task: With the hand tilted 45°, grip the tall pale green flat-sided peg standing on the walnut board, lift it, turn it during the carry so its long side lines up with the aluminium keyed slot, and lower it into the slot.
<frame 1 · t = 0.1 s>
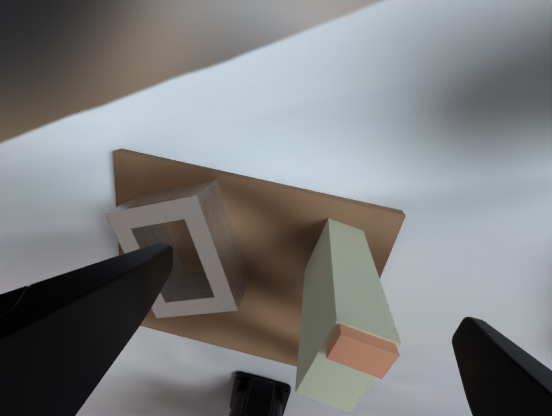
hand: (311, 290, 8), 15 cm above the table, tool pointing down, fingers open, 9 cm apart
walnut board: (242, 271, 27), on the table
keyed peg: (332, 251, 23), point 1 cm above the table, touching walnut board
keyed slot: (195, 239, 25), resting on walnut board
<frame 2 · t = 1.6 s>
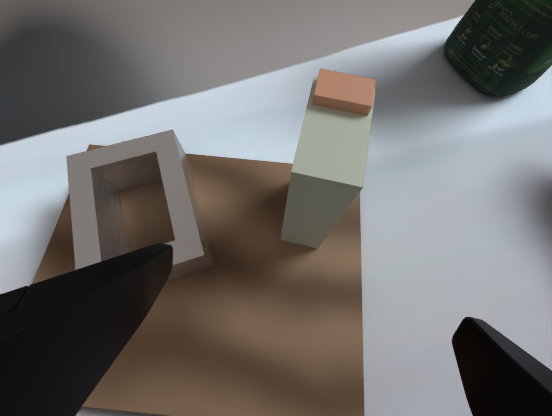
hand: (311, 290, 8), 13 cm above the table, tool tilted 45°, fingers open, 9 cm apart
walnut board: (205, 267, 22), on the table
keyed peg: (305, 213, 23), point 1 cm above the table, touching walnut board
keyed slot: (154, 221, 22), resting on walnut board
coffee jar: (482, 67, 31), on the table
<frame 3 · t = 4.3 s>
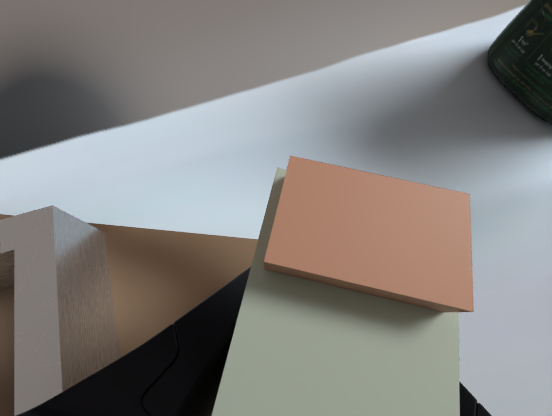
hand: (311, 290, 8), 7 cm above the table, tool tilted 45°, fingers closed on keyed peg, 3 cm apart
keyed peg: (287, 330, 14), point 1 cm above the table, touching gripper, walnut board
keyed slot: (35, 350, 13), resting on walnut board
coffee jar: (540, 83, 22), on the table
when the fingers open (9 cm above the table, at t = 9.0 s): keyed peg drops 1 cm, resting on walnut board.
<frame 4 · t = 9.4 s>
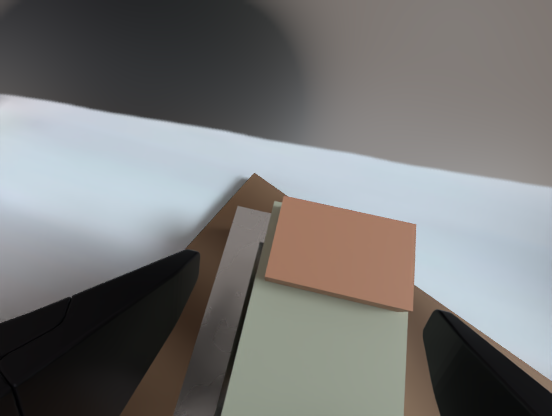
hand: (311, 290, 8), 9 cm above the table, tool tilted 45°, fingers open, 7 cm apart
keyed peg: (285, 328, 15), point 1 cm above the table, touching walnut board
keyed slot: (285, 328, 15), resting on walnut board
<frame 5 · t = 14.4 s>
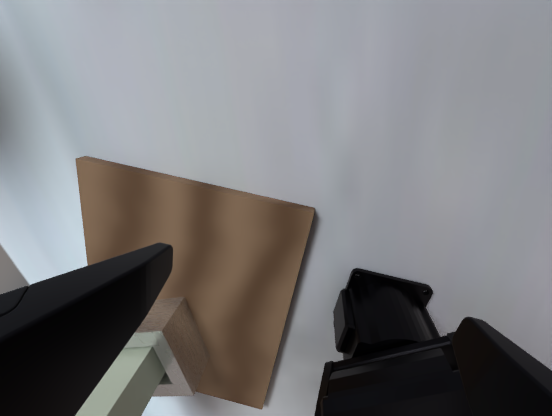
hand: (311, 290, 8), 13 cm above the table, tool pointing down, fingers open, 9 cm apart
walnut board: (188, 297, 27), on the table
keyed peg: (153, 331, 28), point 1 cm above the table, touching walnut board
keyed slot: (153, 331, 28), resting on walnut board
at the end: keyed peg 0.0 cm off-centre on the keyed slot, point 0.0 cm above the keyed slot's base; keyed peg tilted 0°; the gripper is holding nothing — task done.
